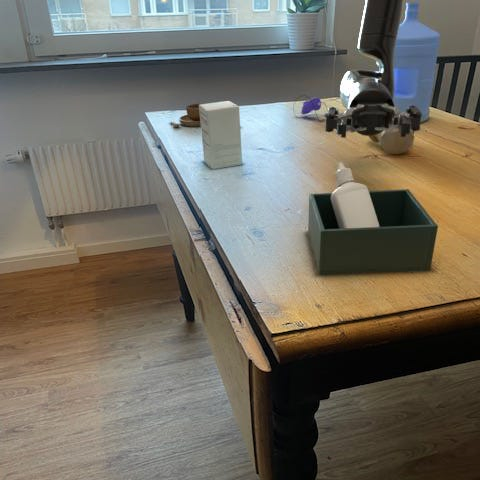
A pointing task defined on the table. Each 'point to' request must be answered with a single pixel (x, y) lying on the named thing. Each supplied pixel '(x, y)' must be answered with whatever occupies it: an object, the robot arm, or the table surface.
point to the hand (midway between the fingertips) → (373, 130)
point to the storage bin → (373, 236)
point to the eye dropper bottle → (352, 202)
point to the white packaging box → (221, 134)
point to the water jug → (414, 63)
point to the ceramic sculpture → (394, 141)
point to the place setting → (190, 116)
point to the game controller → (311, 106)
